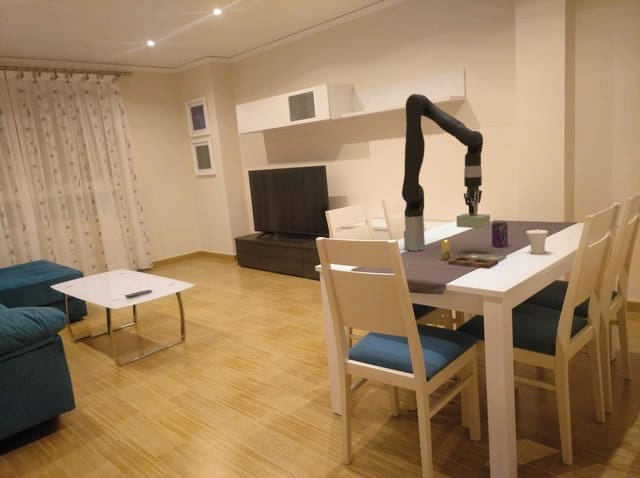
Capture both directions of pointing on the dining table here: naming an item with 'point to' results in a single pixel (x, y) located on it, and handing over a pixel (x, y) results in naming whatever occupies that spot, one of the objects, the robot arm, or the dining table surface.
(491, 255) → the grey mat
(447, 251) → the brass pin
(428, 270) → the dining table surface
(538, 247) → the cup
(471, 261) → the walnut frame
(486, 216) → the green cover
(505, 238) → the beverage can
